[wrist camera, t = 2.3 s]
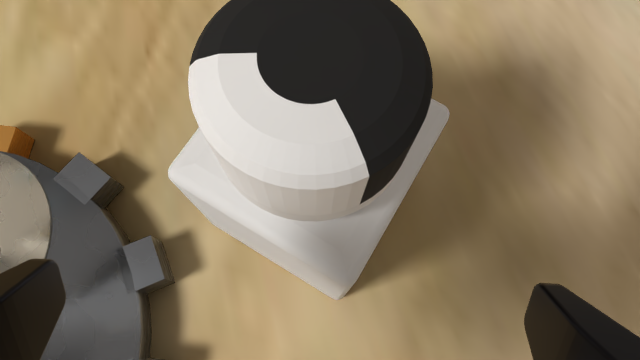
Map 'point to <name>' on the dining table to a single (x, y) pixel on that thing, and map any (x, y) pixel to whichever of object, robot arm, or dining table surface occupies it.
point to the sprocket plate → (79, 252)
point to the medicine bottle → (308, 129)
